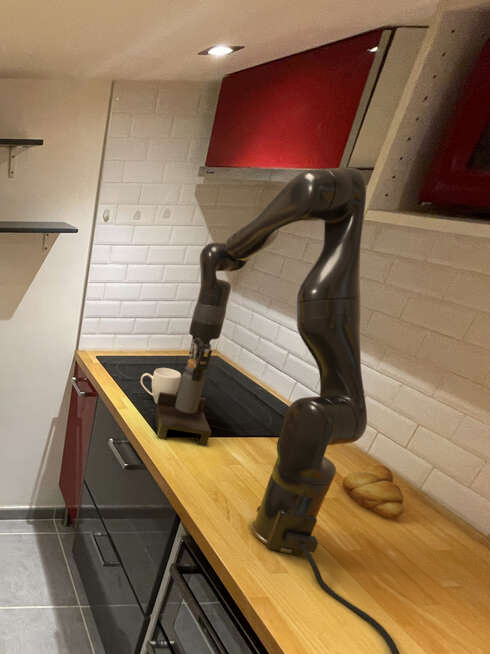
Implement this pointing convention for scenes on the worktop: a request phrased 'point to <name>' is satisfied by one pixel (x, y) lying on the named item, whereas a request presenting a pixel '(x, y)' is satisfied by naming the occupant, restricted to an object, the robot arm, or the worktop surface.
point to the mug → (163, 382)
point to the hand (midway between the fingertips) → (193, 375)
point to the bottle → (189, 390)
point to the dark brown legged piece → (180, 418)
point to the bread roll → (375, 490)
